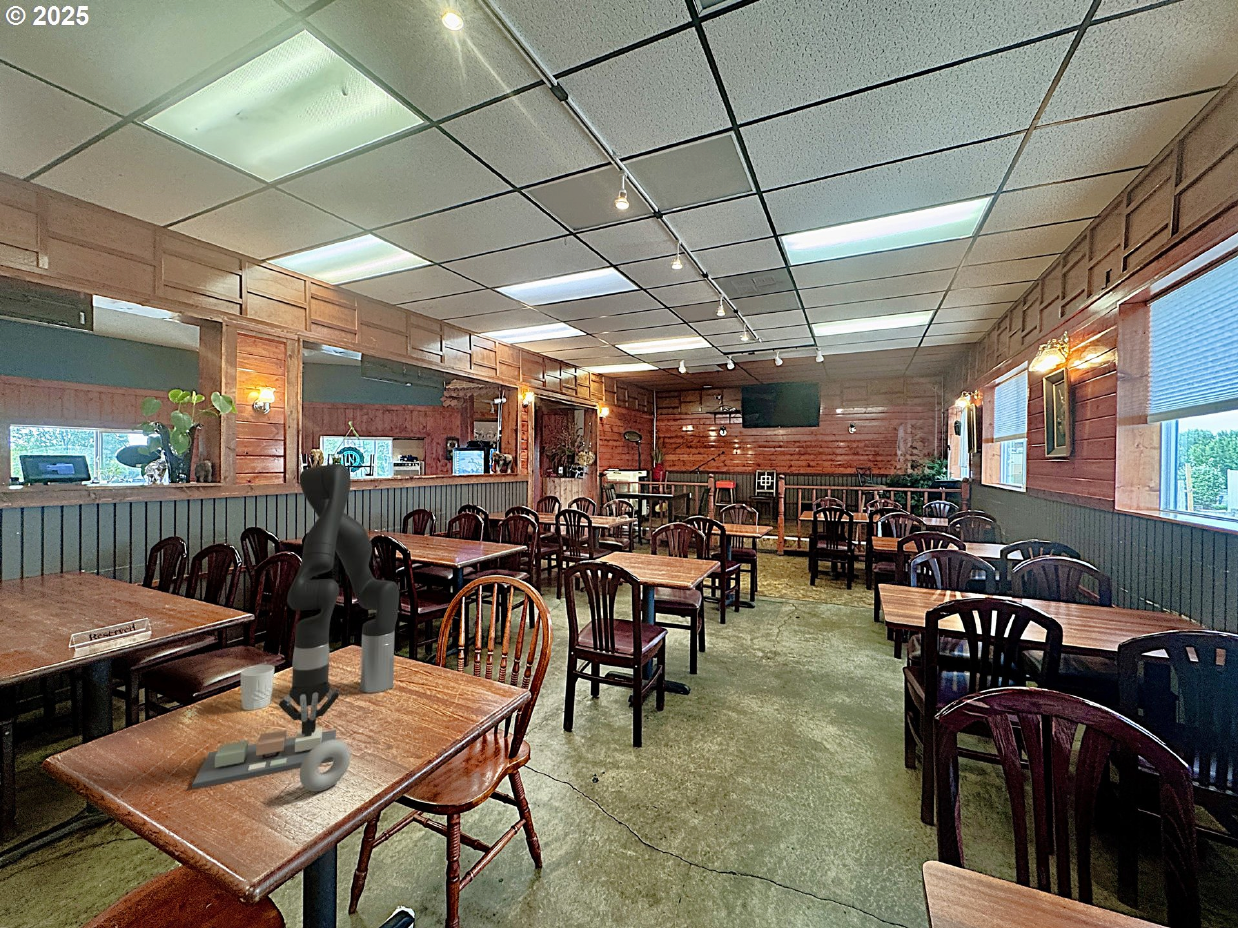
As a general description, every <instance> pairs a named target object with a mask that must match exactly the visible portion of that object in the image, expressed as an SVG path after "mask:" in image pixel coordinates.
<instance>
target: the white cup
mask: <svg viewBox="0 0 1238 928" xmlns="http://www.w3.org/2000/svg"><path fill="white" fill-rule="evenodd" d="M275 669H276V667H275V666H274V665H271V664H258V665H253V666H250V667H246V668H244V669H243V670H241V671H240V694H241V695H240V697H241V708H242V710H244V711H256V710H260V709H263V708H265V707H267V706H269V705H270V704H271V702H272V694H273V690H274V689H273V686H274V675H275Z"/></svg>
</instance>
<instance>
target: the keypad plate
mask: <svg viewBox="0 0 1238 928" xmlns="http://www.w3.org/2000/svg"><path fill="white" fill-rule="evenodd" d="M336 735H337V730H336V729H333V730H332V729H331V730H327V731H322V740H321V743H323V742H325V741H328V740H333V739H334V740H336V737H337V736H336ZM295 740H296V736H294V737H286V742H285V746H284V749H283V751H278V752H277V753H276V755H271V756H270V757H269V756H266V757H265V754H262V755H257V756H256V745H257V743H254V744H253V743H252V744H248V752H247V754H246V757H245V759H244V762H241V763H237V764H235V765H230V766H220V767H215V756H216V754H217V752H218V750H216V751H215V750H214V751H210V752H208V754H207V756H206V758H205V760H204V762H203V764H202V765H201V767H200V768H199V771H198V773H197V775H196V776H195V778H194V781H193V782H192V787H191V788H192V789H191V790H198V789H201V788H208V787H212V786H213V787H214V786H216V785H217V786H218V785H222V784H228V783H231V782H232V783H233V782H238V781H242V780H247V779H252V778H257V777H263V776H266V775H270V774H276V773H281V772H286V771H290V770H296V769H300V768H301V765H302V763H303V761H304V759H305V757H306V756H307V755H308V753H309V752H310V751H311V750H308V751H299V752H295ZM333 761H334V760H333V758H332V757H328V758H326V759H324V760H323V761H322V762H321V763H320V765H321V764H326V763H330V762H333Z"/></svg>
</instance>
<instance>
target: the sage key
mask: <svg viewBox="0 0 1238 928" xmlns="http://www.w3.org/2000/svg"><path fill="white" fill-rule="evenodd" d="M248 745H249V739H246V740H241V741H236V742H235V741H234V742H230V743H225V744H224V743H222V744H220V746H219V748H218V749H217V751H218V752H217V754H216V756H215V767H220V766H230V765H235V764H239V763H241V762H244V759H245V757H246V754H247V752H248Z"/></svg>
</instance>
